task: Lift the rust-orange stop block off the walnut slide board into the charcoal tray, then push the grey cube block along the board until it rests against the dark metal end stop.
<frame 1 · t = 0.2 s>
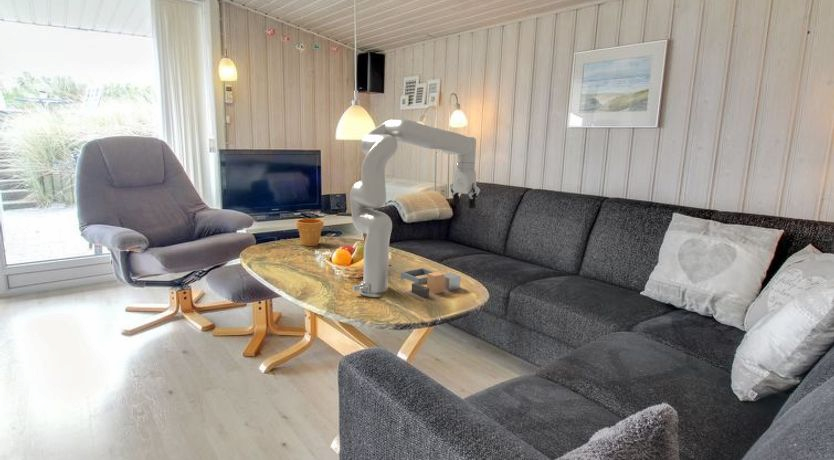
hand: (463, 206, 209), 31 cm above the table, tool pointing down, fingers open, 9 cm apart
flower pot: (310, 244, 262), on the table
grey cube block: (450, 281, 190), point 4 cm above the table, slide at 0.0 cm
tray: (420, 281, 204), on the table
slide board: (435, 295, 187), on the table
stop block: (435, 291, 186), point 1 cm above the table, touching slide board
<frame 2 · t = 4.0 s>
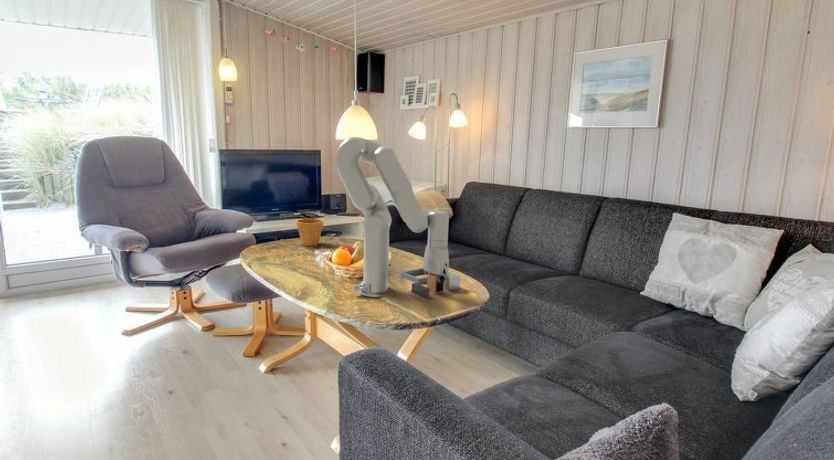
hand: (435, 289, 186), 2 cm above the table, tool pointing down, fingers closed on stop block, 3 cm apart
stop block: (435, 291, 186), point 2 cm above the table, touching gripper, slide board
when the fingers open (3 cm above the table, at t = 10.4 s): stop block drops 2 cm, resting on tray.
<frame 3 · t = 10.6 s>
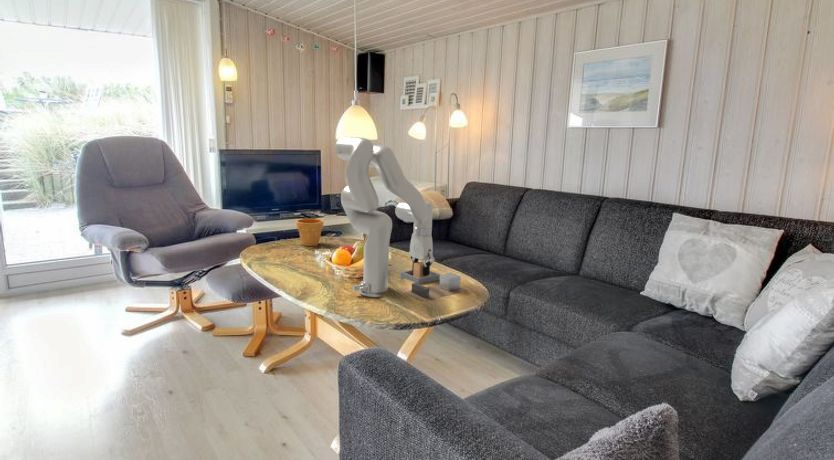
hand: (420, 273, 203), 4 cm above the table, tool pointing down, fingers open, 6 cm apart
stop block: (420, 279, 203), point 1 cm above the table, touching tray
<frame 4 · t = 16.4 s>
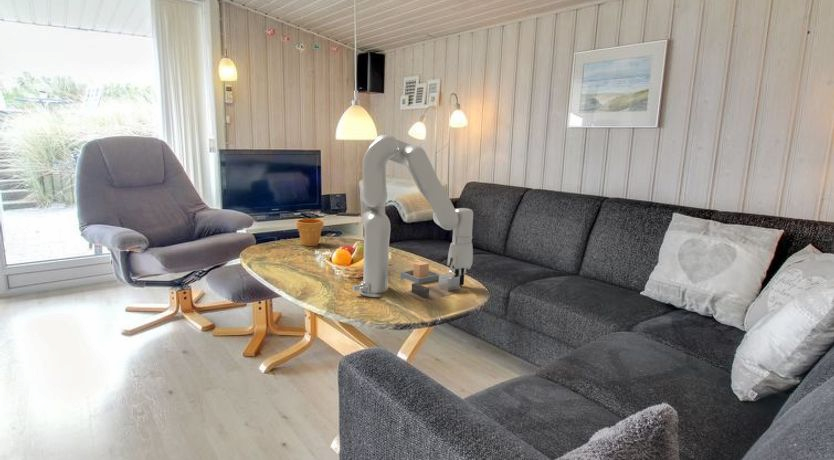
hand: (459, 284, 194), 2 cm above the table, tool pointing down, fingers closed
grey cube block: (449, 281, 190), point 4 cm above the table, slide at 0.5 cm, touching gripper
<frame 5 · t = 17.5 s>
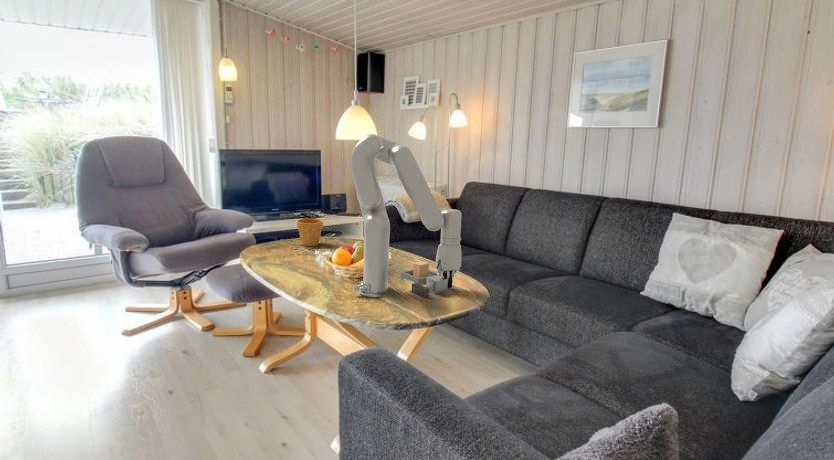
hand: (447, 286, 190), 2 cm above the table, tool pointing down, fingers closed
grey cube block: (437, 284, 186), point 4 cm above the table, slide at 6.8 cm, touching gripper
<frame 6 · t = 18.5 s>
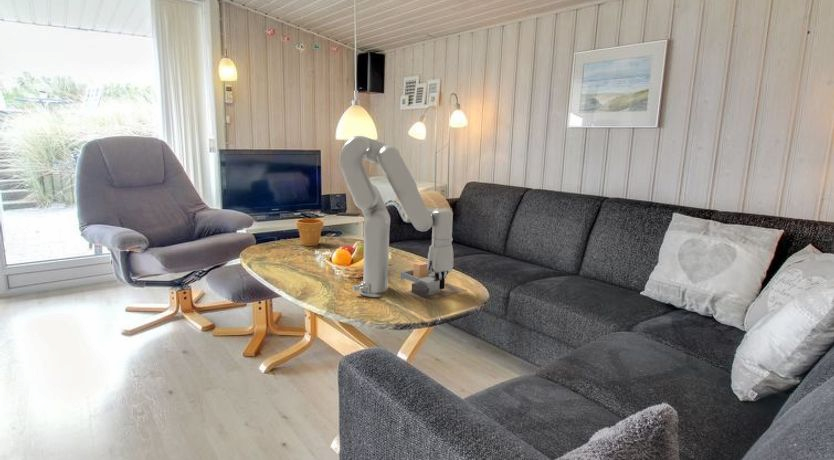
hand: (440, 288, 187), 3 cm above the table, tool pointing down, fingers closed
grey cube block: (428, 286, 184), point 4 cm above the table, slide at 11.0 cm, touching gripper
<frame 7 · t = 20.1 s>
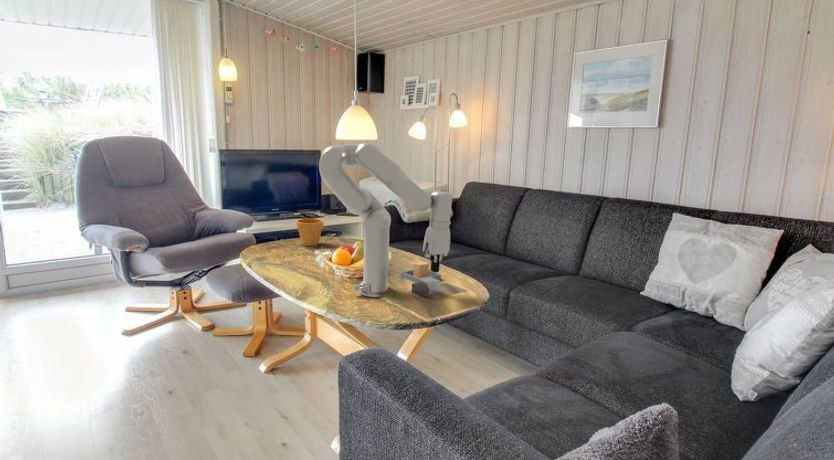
hand: (434, 271, 185), 9 cm above the table, tool pointing down, fingers closed
grey cube block: (428, 286, 184), point 4 cm above the table, slide at 10.8 cm
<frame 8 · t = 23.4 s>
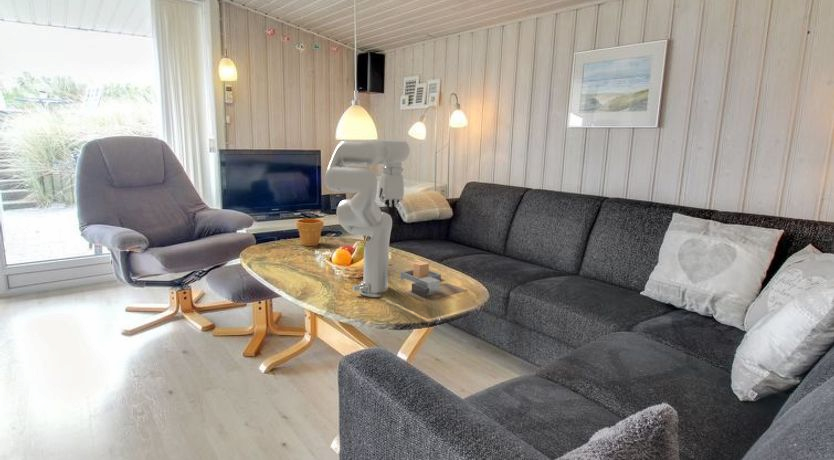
hand: (390, 215, 200), 27 cm above the table, tool pointing down, fingers closed
at the end: stop block inside the target area on the tray (0.0 cm from its centre), point 0.8 cm above the tray's base; grey cube block slide at 10.8 cm; stop block tilted 0° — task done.
